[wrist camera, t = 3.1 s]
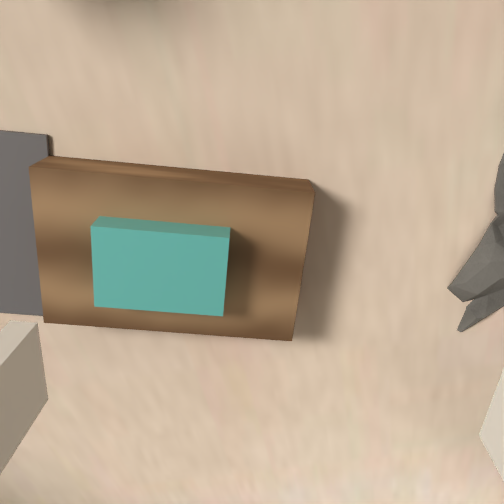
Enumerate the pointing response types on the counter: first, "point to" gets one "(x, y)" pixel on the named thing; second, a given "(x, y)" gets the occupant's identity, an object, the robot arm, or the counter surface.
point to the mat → (19, 223)
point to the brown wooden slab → (179, 211)
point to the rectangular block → (159, 265)
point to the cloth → (484, 267)
